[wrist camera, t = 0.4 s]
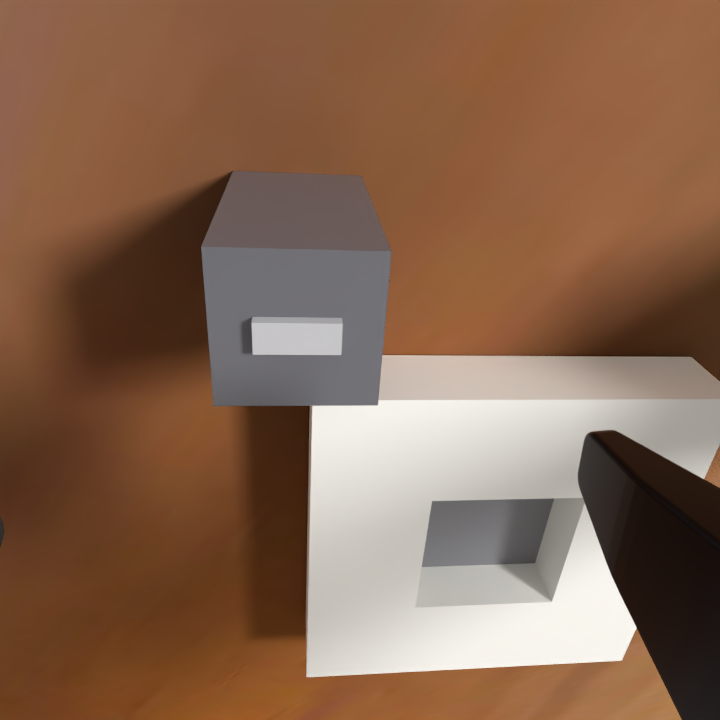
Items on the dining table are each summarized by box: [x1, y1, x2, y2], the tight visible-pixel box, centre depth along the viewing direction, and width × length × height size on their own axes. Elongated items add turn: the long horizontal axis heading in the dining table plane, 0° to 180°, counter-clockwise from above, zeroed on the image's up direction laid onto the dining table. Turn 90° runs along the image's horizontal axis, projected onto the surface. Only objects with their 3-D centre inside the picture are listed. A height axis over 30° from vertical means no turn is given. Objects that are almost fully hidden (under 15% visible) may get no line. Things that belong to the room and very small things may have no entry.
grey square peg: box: [201, 171, 392, 406], centre depth 16 cm, size 4×4×7 cm
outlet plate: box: [306, 355, 720, 677], centre depth 25 cm, size 15×15×3 cm
